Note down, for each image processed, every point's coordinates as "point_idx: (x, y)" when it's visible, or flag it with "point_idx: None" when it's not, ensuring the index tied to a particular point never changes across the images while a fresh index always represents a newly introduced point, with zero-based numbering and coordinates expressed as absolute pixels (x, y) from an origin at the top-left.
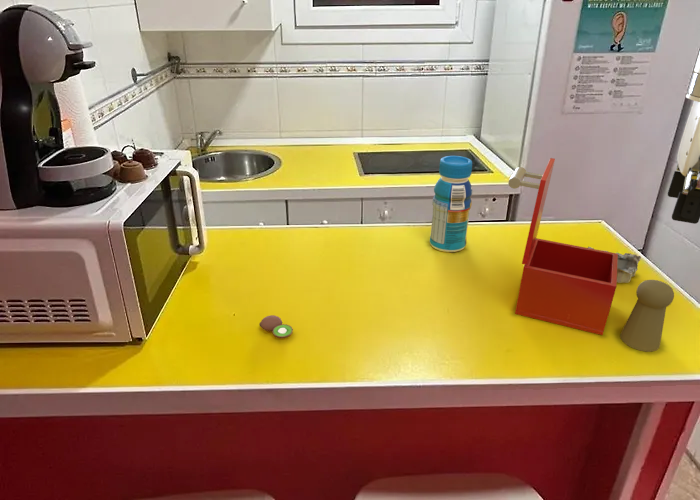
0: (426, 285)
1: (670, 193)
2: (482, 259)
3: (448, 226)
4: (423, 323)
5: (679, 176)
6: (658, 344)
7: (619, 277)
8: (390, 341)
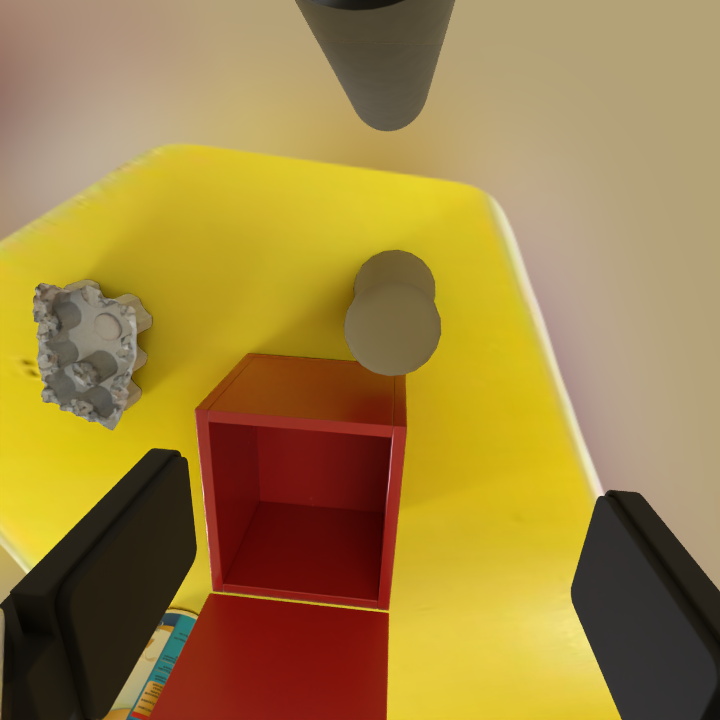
0: None
1: (188, 566)
2: (206, 575)
3: None
4: (480, 635)
5: (111, 678)
6: (417, 260)
7: (145, 325)
8: (547, 666)
